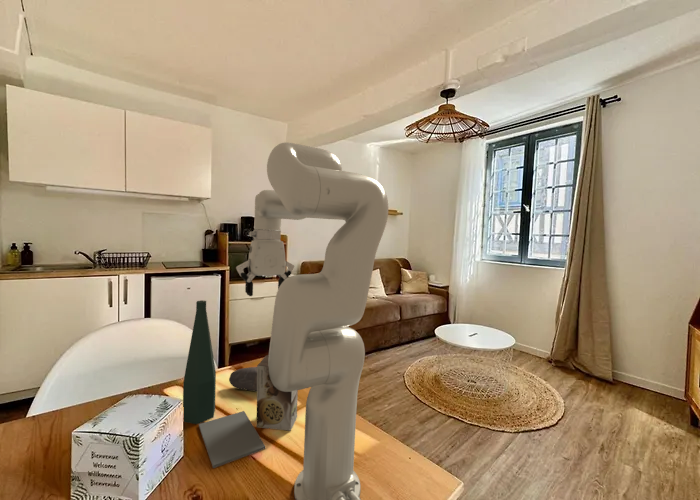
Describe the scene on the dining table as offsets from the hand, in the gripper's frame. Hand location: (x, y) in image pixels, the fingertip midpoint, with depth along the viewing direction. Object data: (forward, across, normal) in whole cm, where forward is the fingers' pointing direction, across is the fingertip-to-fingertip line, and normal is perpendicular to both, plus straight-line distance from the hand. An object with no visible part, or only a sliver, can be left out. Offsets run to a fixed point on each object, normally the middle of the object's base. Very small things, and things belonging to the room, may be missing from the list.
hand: (265, 293), depth 93 cm
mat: (+30, -14, -16) cm, 37 cm away
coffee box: (+30, -2, -16) cm, 34 cm away
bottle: (+30, -18, -3) cm, 35 cm away
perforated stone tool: (+30, -2, +3) cm, 30 cm away
